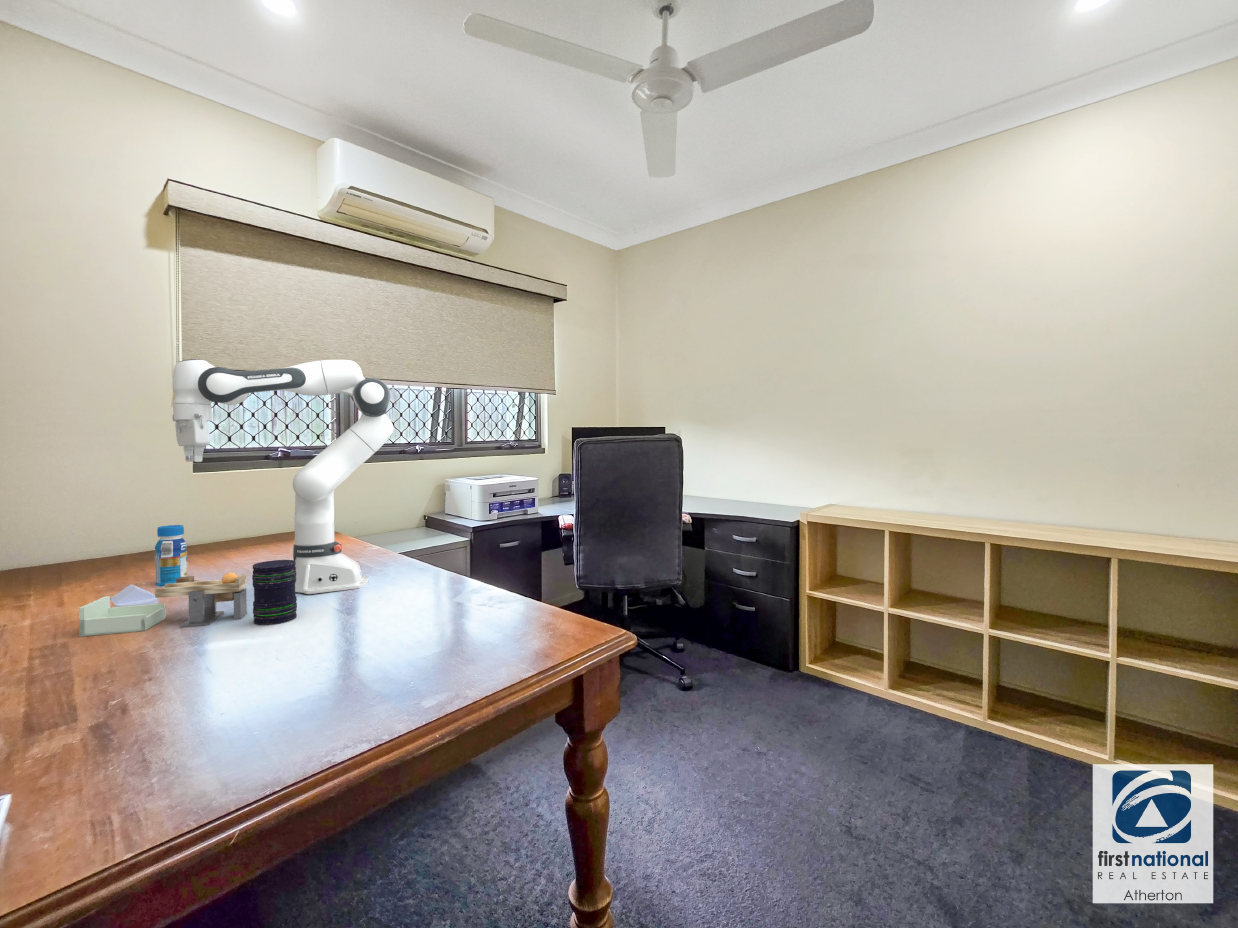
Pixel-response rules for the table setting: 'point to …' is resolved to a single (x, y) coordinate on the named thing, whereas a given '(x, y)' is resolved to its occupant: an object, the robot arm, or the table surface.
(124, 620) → the tray
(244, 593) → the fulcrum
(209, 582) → the lever
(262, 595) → the dark barrel
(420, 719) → the table surface
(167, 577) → the beverage bottle
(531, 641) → the table surface
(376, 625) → the table surface
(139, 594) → the wedge on round base
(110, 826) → the table surface
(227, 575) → the ball
